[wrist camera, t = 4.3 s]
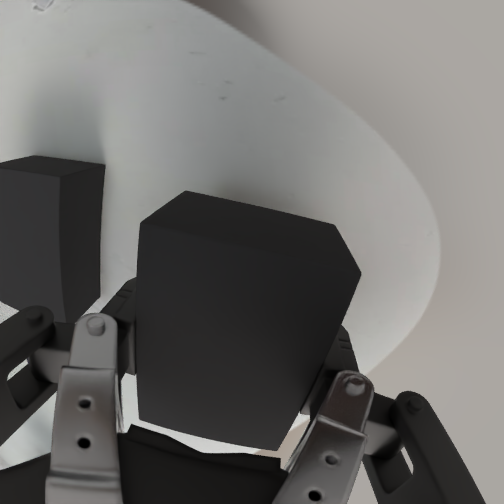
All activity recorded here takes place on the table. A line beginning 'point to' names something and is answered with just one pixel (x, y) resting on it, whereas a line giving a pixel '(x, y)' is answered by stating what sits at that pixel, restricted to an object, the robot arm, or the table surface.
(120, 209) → the table surface
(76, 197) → the pad
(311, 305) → the pad
